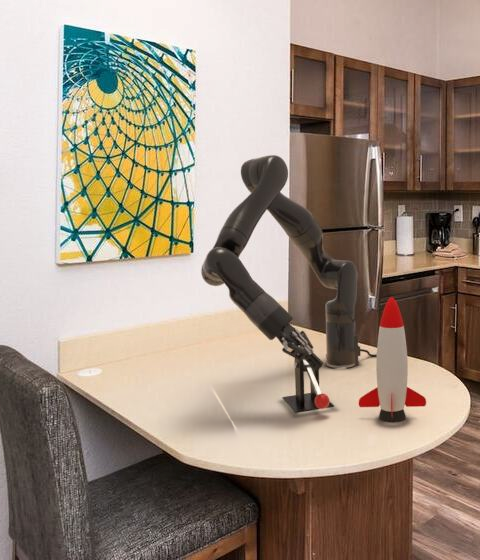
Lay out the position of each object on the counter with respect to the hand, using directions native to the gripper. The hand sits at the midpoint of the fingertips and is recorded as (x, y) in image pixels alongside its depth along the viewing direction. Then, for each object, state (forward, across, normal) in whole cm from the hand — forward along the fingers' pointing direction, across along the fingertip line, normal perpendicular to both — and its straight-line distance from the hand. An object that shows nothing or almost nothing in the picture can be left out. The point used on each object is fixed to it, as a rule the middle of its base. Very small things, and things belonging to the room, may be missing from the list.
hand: (320, 367), depth 145 cm
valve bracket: (+5, +10, +14) cm, 18 cm away
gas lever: (+3, +6, +7) cm, 10 cm away
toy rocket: (+21, +2, -2) cm, 22 cm away
